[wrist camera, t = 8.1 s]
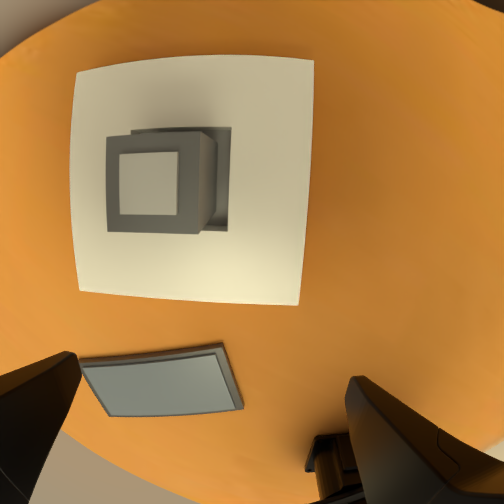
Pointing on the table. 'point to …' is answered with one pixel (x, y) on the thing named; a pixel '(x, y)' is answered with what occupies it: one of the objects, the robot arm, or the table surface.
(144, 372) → the phone
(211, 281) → the outlet plate
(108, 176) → the block
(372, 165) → the table surface
